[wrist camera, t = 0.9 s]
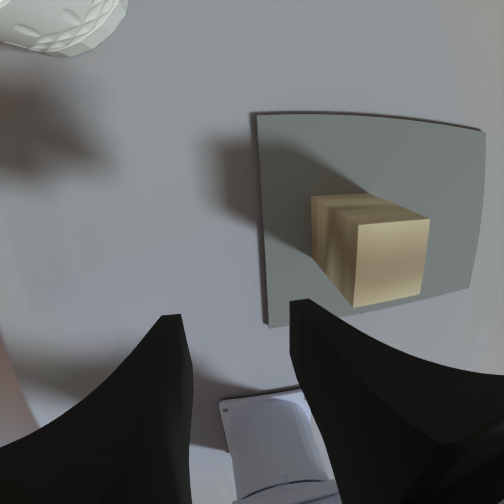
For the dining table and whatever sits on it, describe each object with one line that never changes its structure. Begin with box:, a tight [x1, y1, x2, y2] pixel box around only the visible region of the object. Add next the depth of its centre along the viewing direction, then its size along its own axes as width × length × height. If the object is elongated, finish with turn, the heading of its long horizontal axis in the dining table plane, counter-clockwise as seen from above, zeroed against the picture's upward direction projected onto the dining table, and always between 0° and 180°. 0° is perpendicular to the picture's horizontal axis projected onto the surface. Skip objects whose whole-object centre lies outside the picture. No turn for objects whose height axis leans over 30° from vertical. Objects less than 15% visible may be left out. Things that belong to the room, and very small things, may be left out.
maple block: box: [311, 193, 430, 308], centre depth 16 cm, size 4×4×6 cm
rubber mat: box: [256, 114, 486, 328], centre depth 20 cm, size 14×19×1 cm
